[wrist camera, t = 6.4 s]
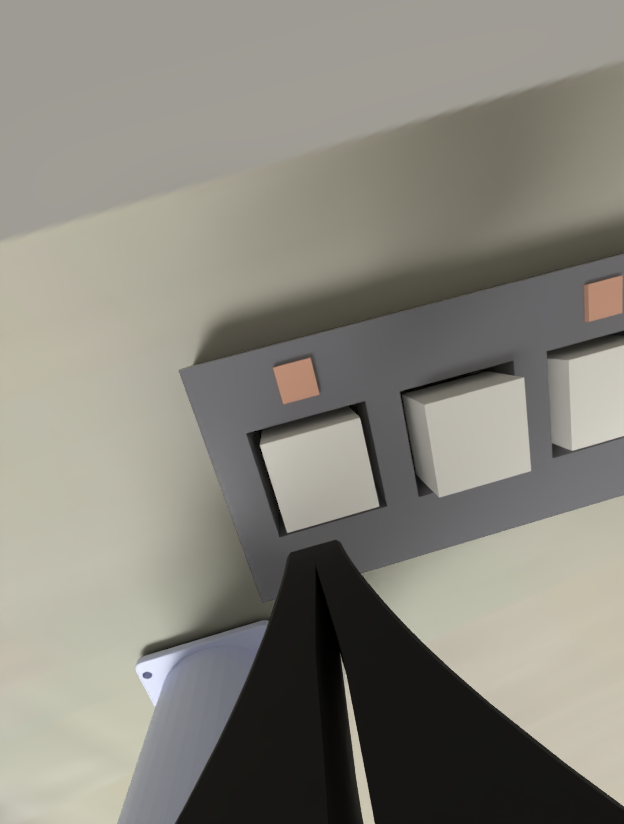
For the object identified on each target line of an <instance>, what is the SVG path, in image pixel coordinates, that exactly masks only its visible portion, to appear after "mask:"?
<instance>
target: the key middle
mask: <svg viewBox="0 0 624 824" xmlns="http://www.w3.org/2000/svg"><path fill="white" fill-rule="evenodd" d="M402 398H403V403H404V409H405V414H406V420H407V426H408V431H409V437H410V442H411V448H412V453H413V459H414V464H415V470H416V475H417V476H418V477H419V478H420V479H421V480H422V481H423V482H424V483H425V484H426V485H427V486H428V487H429V488H430V489H431V490H432V491H433V492H434V493H435V494H436V495H437V496H438V497H439V498H440V497H444V496H447V495H451V494H454V493H457V492H461V491H464V490H468V489H471V488H475V487H478V486H482V485H485V484H488V483H492V482H495V481H499V480H502V479H506V478H509V477H513V476H516V475H519V474H523V473H526V472H530V471H531V461H530V448H529V435H528V422H527V408H526V395H525V382H524V377H519V376H513V375H507V374H501V373H495V372H489V371H486V372H482V373H479V374H475V375H471V376H468V377H464V378H460V379H457V380H453V381H449V382H446V383H442V384H438V385H435V386H431V387H427V388H424V389H420V390H416V391H413V392H409V393H405V394H402Z"/></svg>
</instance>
